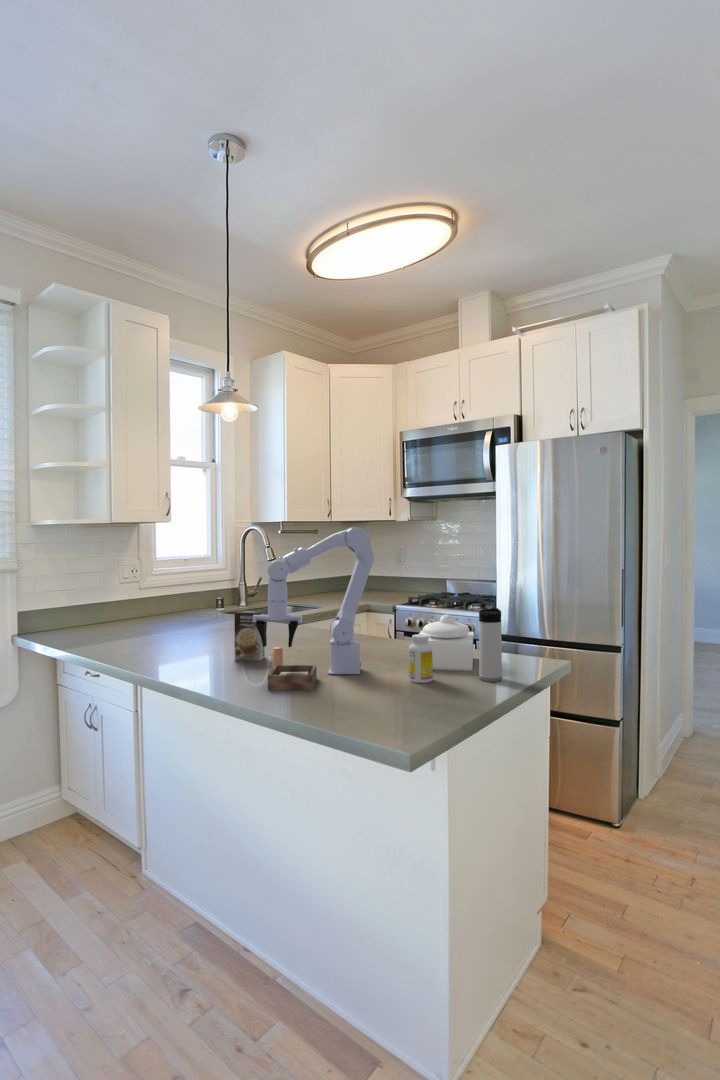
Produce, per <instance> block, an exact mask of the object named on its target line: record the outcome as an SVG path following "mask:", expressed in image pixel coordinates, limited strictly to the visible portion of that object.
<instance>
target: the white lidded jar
mask: <svg viewBox="0 0 720 1080" xmlns="http://www.w3.org/2000/svg"><path fill="white" fill-rule="evenodd" d="M418 634H424V635H428V636H429V640H428V644H430V645H431V646H432V665H433V670H441V671H442V670H443V671H462V670H464V671H465V672H466V671H467V672H472V671H473V663H474V635H475V634H474V631H470V628H469V626H467V625H466V624H464V623H461V622H459V621H458V622H457V621H455V619H454V617H453V616H452V615H451V614H443V615H442V616H441V617H440V618H439V621H434V622H430V623H428V624H426V625H424V626H423V627H422V630H420V632H419V633H418ZM464 671H463V672H464Z"/></svg>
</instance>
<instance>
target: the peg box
mask: <svg viewBox="0 0 720 1080" xmlns="http://www.w3.org/2000/svg"><path fill="white" fill-rule="evenodd" d="M317 675H318V674H317V664H283V665H275V666H274V668H273V667H272V669H271V670H270V672H269V673H268V674H267V691H313V689H314V686H315V683H316V681H317V679H318V678H317Z"/></svg>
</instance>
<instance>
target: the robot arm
mask: <svg viewBox="0 0 720 1080" xmlns="http://www.w3.org/2000/svg"><path fill="white" fill-rule="evenodd" d="M335 547H347V548H348V549H350V551H352V554H353V555H354V557H355V559H356V561H355V565H354V567H353V570H352V573H351V577H350V580H349V582H348V585H347V588H346V590H345V594H344V598H343V601H342V603H341V606H340V608H339V609H338V611H337V614H336V617H335V618H334V619H333V620H332V621H331V623H330V626H329V632H330V634H331V636H332V637H331V639H330V640H329V663H330V665H329V669H328V672H327V673H328V675H360V674H361V668H362V660H361V642H358V641H357V642H356V641H354V639H353V638H354V635H355V631H354V626H355V622H356V621H355V620H356V613H357V611H358V608H359V606H360V601H361V599H362V596H363V593H364V590H365V587H366V584H367V581H368V579H369V574H370V572H371V569H372V566H373V563H374V560H375V559H374V554H373V553H374V552H373V548H372V545H371V537H370V536H369V535H368V534H367V531H366V530H364V529H363V528H362V527H358V526H355V527H348V528H346V529H345V530H341V531H338V532H335V533H333V534H330V535H329V536H327V537H325V538H324V539H322V540H320V541H319V542H317V543H315V544H313V545H312V546H309V547H308V548H305V547H299V548H298V547H295V548H293V549H292V552H289V553H288V554H285V555H284V556H282V555H281V556H278V557H279V560H273V561H271V563H269V565H268V568H267V575H268V576H269V577H268V581H267V583H268V585H267V614H265V615H253V622H256V627H257V629H258V631H259V634H260V636H261V639H262V644H263V647H265V648H266V646H267V640H268V639H267V628H268V623H287V624H288V626H287V627H288V648H292V645H293V640H294V637H295V633H296V631H297V628H298V626H299V625H300V623H303V615H301V614H299V615H297V614H288V585H287V577H288V576H289V574H294V573H296V572H298V571H300V570H302V569H303V568H305V567H307V566H309V565H310V564H311V561H312V559H313V558H316V557H317V556H319V555H321V554H323V553H325V552H327V551H330V550H331V549H333V548H335Z"/></svg>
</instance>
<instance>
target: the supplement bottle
mask: <svg viewBox="0 0 720 1080" xmlns="http://www.w3.org/2000/svg"><path fill="white" fill-rule="evenodd" d="M411 640H412V643H411V644H410V645H409V647H408V678H409V681H410V682H411V683H417V684H428V683H430V682H432V681H433V677H434V676H433V670H434V669H433V665H432V646H431V645H430V644H428V640H429V636H428V635H424V634H419V633H417V634H416V633H415V634H412V636H411Z"/></svg>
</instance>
